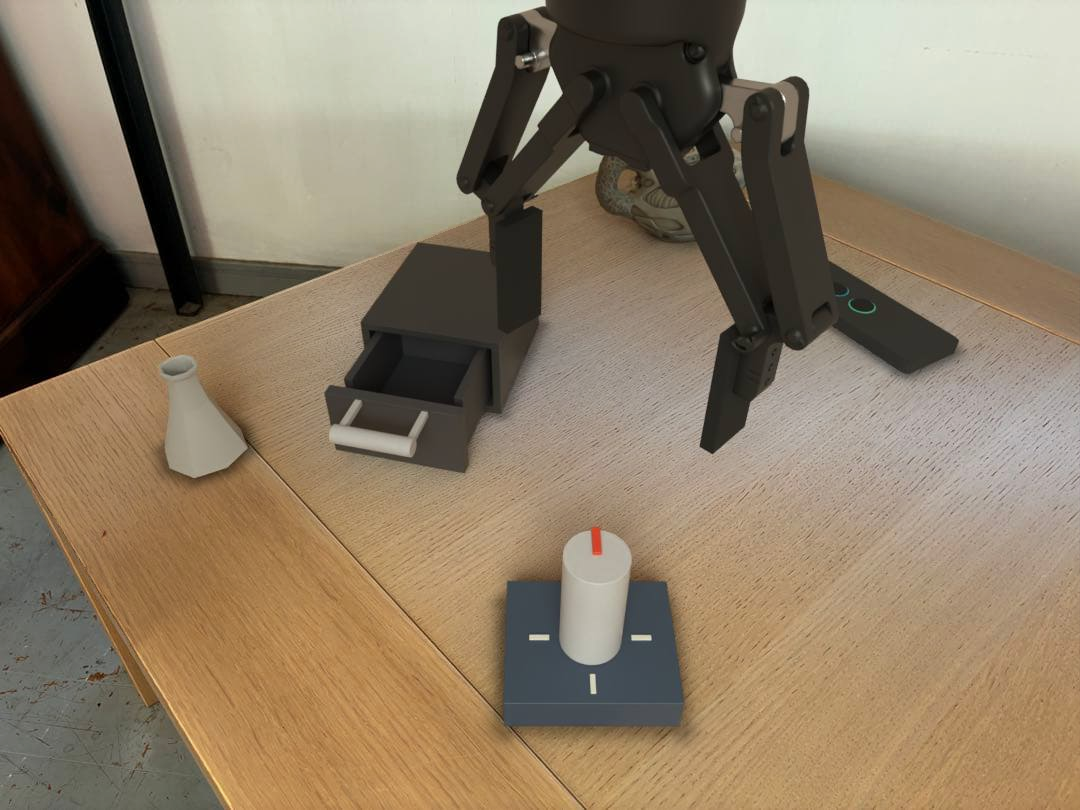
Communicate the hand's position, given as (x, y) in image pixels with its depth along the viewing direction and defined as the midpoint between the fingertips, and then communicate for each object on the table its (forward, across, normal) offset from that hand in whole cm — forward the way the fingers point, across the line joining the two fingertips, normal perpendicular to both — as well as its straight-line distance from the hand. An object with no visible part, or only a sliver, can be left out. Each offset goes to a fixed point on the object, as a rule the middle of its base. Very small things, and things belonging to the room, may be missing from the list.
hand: (612, 375), depth 43 cm
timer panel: (+27, 0, 0) cm, 27 cm away
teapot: (+27, +34, -55) cm, 70 cm away
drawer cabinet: (+27, +34, -18) cm, 47 cm away
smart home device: (+27, +7, -55) cm, 62 cm away
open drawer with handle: (+26, +28, -7) cm, 39 cm away
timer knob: (+24, 0, 0) cm, 24 cm away
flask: (+27, +40, +8) cm, 49 cm away
